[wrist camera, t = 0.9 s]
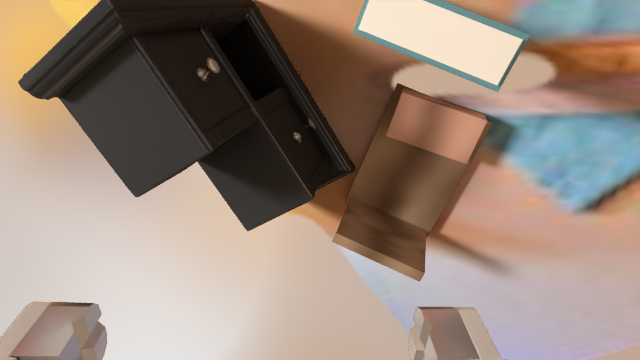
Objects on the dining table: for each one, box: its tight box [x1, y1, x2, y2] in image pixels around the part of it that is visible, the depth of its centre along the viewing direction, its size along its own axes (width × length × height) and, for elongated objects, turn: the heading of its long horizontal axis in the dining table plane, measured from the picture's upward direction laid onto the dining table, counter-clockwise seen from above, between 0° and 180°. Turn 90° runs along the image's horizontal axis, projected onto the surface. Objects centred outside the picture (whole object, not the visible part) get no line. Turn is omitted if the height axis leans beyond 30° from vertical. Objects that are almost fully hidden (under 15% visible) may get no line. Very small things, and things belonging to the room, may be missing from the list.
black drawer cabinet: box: [18, 0, 355, 231], centre depth 40 cm, size 23×11×24 cm, turn 33°
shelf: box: [332, 83, 492, 282], centre depth 44 cm, size 11×17×10 cm, turn 160°
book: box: [353, 0, 530, 92], centre depth 35 cm, size 11×4×16 cm, turn 70°
